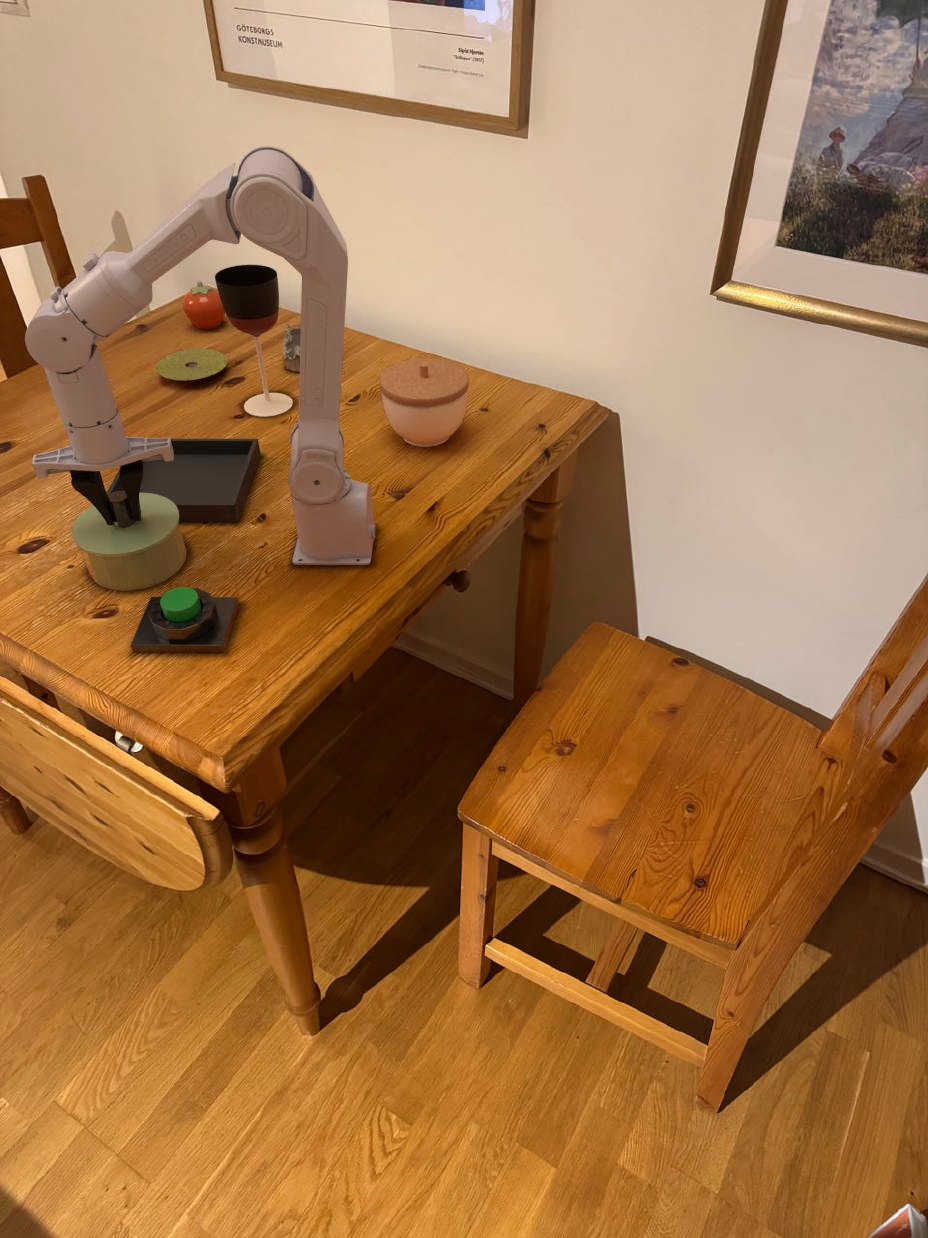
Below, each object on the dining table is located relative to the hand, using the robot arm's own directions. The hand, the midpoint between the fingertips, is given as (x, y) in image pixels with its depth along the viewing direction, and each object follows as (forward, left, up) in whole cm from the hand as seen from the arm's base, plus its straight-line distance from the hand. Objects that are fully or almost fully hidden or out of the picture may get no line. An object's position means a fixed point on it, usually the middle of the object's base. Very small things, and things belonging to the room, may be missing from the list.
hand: (124, 518), depth 101 cm
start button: (-9, +12, -4) cm, 15 cm away
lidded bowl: (-34, -30, -7) cm, 46 cm away
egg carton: (-13, -55, -7) cm, 57 cm away
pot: (0, 0, -6) cm, 6 cm away
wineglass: (-9, -39, -7) cm, 41 cm away
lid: (0, 0, -1) cm, 1 cm away
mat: (+5, -49, -7) cm, 50 cm away
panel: (-9, +12, -6) cm, 16 cm away
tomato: (+7, -68, -7) cm, 69 cm away
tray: (-2, -16, -6) cm, 17 cm away
